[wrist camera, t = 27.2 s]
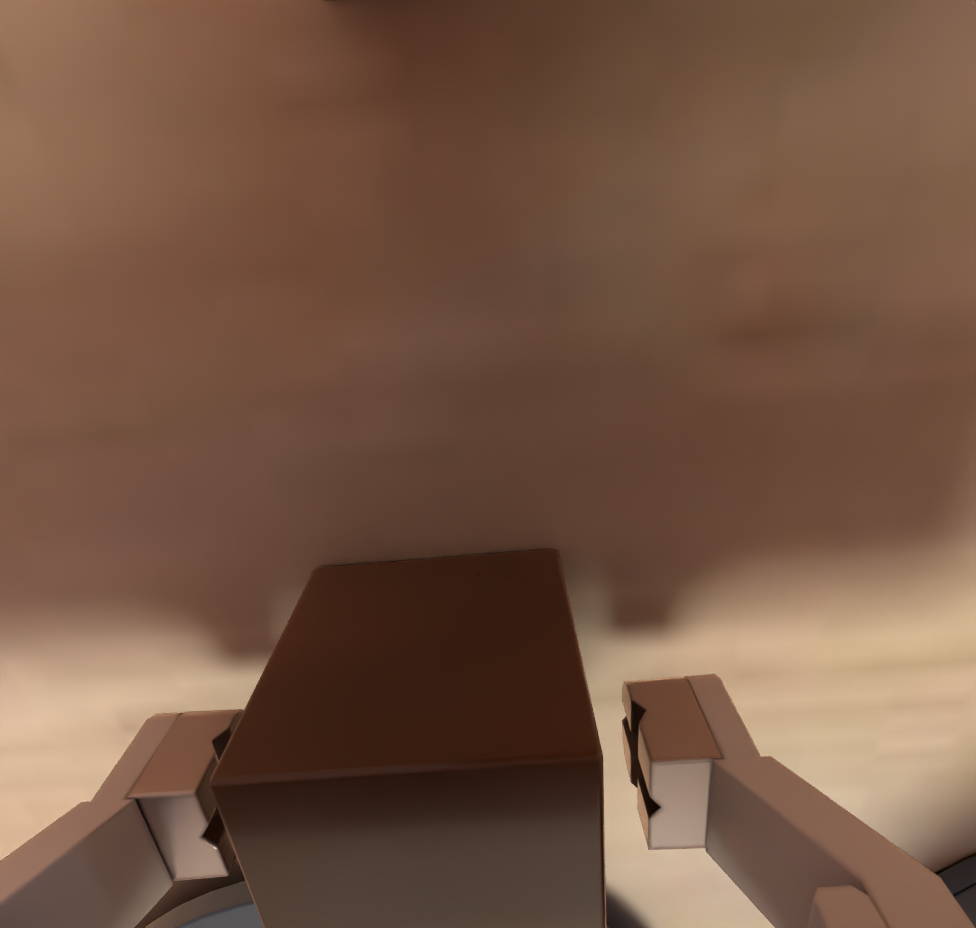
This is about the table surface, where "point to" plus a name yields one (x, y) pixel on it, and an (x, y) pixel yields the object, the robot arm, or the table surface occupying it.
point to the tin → (963, 885)
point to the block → (422, 753)
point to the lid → (215, 911)
